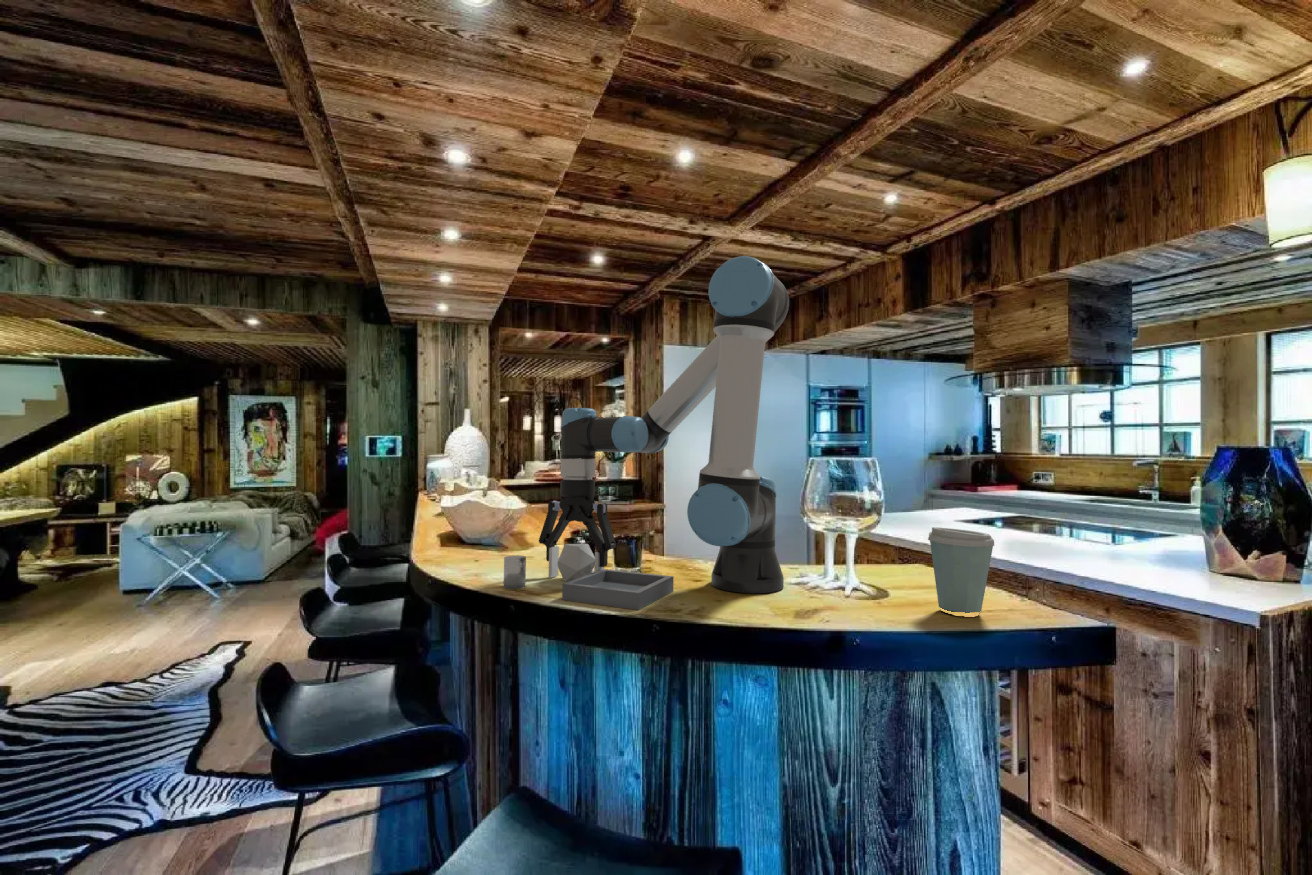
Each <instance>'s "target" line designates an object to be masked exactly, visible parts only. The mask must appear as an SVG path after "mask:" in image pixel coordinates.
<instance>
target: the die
mask: <svg viewBox="0 0 1312 875" xmlns="http://www.w3.org/2000/svg"><path fill="white" fill-rule="evenodd" d="M557 566H558V571H559V572H560V574H561V577H562V579H563V582H564V583H566V582H569V581H572V580H575V579H578V578H580V577H583V576H586V575H589V574H592V573H593V570H594V568H595V554H594V553H593V551H592V549H591V547H590V545H589V544H588V543H567V544H566V543H565V544H564V545H563V548H562V550H561V552H560V554H559V559H558V563H557Z"/></svg>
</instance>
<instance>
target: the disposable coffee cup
mask: <svg viewBox="0 0 1312 875" xmlns="http://www.w3.org/2000/svg"><path fill="white" fill-rule="evenodd" d="M927 540H928V541H929V543H930V545H929V546H930V550H931V551H930V552H931V559H932V566H933V573H934V581H935V589H936V595H937V604H938V608H939V609H940V608H942V609H944V610H947V611H951V612H965V613H970V612H980V611H981V612H982V608H983V604H984V603H983V602H984V599H985V593H986V592H985V591H986V586H987V582H988V575H989V570H990V566H991V559H992V553H993V549H994V548H993V547H994V546H995V540H994V538H993V537H992V536H991V535H990V534H989V533H985V532H979V531H975V530H974V531H973V530H968V529H959V528H950V527H934V526H933V527H931V531H930V532H929V533H928V538H927ZM981 612H980V613H981Z"/></svg>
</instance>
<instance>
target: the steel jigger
mask: <svg viewBox="0 0 1312 875" xmlns="http://www.w3.org/2000/svg"><path fill="white" fill-rule="evenodd" d="M526 573H527V556H525V555H507V556H504V557H503V588H504V589H507V590H517V589H519V590H520V589H524V588H526V583H527V582H526V576H527V574H526Z"/></svg>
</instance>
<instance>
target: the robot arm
mask: <svg viewBox="0 0 1312 875" xmlns="http://www.w3.org/2000/svg"><path fill="white" fill-rule="evenodd" d="M788 293H789V292H788V291H787V289H786V287H785V285H784V284H783V283H782V281H781V280H780V279H779V278H777V276H776V275H775V274H774V272H772V270H771V269H770V267H769V266H768V265H767V264H766V263H764V262H762V261H761V260H759V259H758V258H755V257H752V256H746V255H742V256H736V257H732V258H729V259H728V260H726V261H725V262H723V263H722V264H721V265H720V266H719V267H718V268H717V269H716V270H715V271H714V273H713V274H712V276H711V278H710V281H709V283H708V298H709V301H710V305H711V306H712V308H713V309H714V318H713V327H712V328H713V330H712V331H713V333H714V334H715V335H716V336H715V337H714V338H713V339H712V340H711V342H709V344H708V345H706V347H705V348H704V349H703V350H702V351H701V352H700V354H698V355H697V356H696V358H695V359H694V360H693V361H692V362H691V363H690V364H689V365H688V366H687V367H686V368H685V369H684V371H683V372H682V373H681V374H680V375H679V376H678V377H677V378H676V379H675V381H673V383H672V384H671V385H670V386H669V387H668V388H667V389H666V390H665V391H664V392H663V393H662V395H661V396H660V397H658V399H657V400H656V401H655V402H654V403H653V404H652V405H651V406H650V407H649V409H647V410H646V412H645V413H644V414H643V415H641V417H639V416H631V415H623V416H607V417H602V416H601V417H598V416H597V412H596V409H594V408H588V407H569V408H568V407H567V408H565V409H564V410H563V411H562V415H561V416H562V417H561V426H560V430H561V432H560V435H561V439H560V440H561V455H560V456H561V457H560V458H561V459H560V474H559V475H560V477H561V478H563V479H561V480H560V484H559V485H560V493H559V494H560V496H561V497H560V501H558V500H553V501H552V500H550V501H548V503H547V513H546V516H545V520H544V523H543V526H542V529H541V532H540V536H539V538H538V543H539V544H542V545H544V546H545V547H546V550H545V551H546V552H545V553H546V554H545V556H546V558H545V559H546V562H548V578H550V579H552V578H554V577H555V578H556V577H557V576H559V568H558V566H557V563H558V559H559V557H560V546H559V545H558V543H557V542H559V540H560V538H561V537H562V535H563V533H564V531H565V530H566V529H567V526H568V525H569V523H571V522H574V521H575V522H579V523H582V524H583V525H584V526H585V528H586V529H587V531H588V533H589V535H590V537H591V539H592V541H593V542H594V544H595V547H596V548H597V551H594V557H595V565H594V573H595V572H598V571H601V570H603V569H605V567H607V566H608V552H609V551H610V550H614V549H615V548H616V547H617V543H616V540H615V537H614V536H615V535H614V532H613V529H612V525H611V522H610V519H609V516H608V504H607V503H605V502H604V503H596V502H595V494H596V493H595V492H596V481H595V480H594V479H593V478H595V477H596V454H597V452H598V453H600V452H602V453H604V452H605V453H606V452H607V453H624V454H627V453H628V454H629V453H630V454H631V453H643V454H654V453H658V452H661V451H663V449H665V448H666V447H667V445H668V443H669V438H670V437H669V436H670V435H671V434H672V433H673V432H674V431H675V430H676V429H677V428H678V426H679V425H680V424H681V423H682V422H684V420H685V419H686V418H687V417H688V416H689V415H690V414H691V413H692V412H693V411H694V410H695V409H696V408H697V406H699V404H701V403H702V402H703V401H704V400H705V398H706V397H707V396H709V394H711V392H712V391H713V390H714V389H715V391H714V401H713V412H712V421H711V431H710V432H711V434H710V443H709V452H708V453H709V454H708V462H707V464H706V465H704V467H702V468H701V469H700V471H699V474H698V475H699V476H698V482H697V483H698V484H697V489H696V490H695V492H693V494H692V495H691V497H690V499H689V500H688V504H687V509H686V510H687V512H686V514H687V520H688V523H689V526H690V528H691V530H692V531H693V532H694V534H695V535H696V536H697V537H698V538H699V539H700V540H701V541H702V542H704V543H706V544H708V545H710V546H711V545H712V546H714V547H715V546H716V547H719V550H718V553H717V557H716V559H715V562H714V565H713V569H712V572H711V585H712V587H714V588H716V589H719V590H723V591H726V592H727V591H728V592H732V593H743V594H766V593H767V594H768V593H775V592H778V591H781V590H782V589H784V587H785V586H784V585H785V584H784V579H785V578H784V574H783V571H782V568H781V565H780V562H779V558H778V555H777V551H776V516H777V515H776V513H777V512H776V510H777V509H776V506H777V504H776V498H777V490H776V483H775V481H774V480H773V479H772V478H770V477H765V476H760V475H759V474H758V473H757V471H756V470H755V468H754V463H755V462H754V460H755V452H756V443H757V430H758V422H759V421H758V419H759V410H760V402H761V401H760V400H761V391H762V390H761V388H762V380H763V370H764V369H763V368H764V361H765V360H764V358H765V349H766V343H767V342H768V341H769V340H770V339H771V338H772V337H774V336H775V333H776V331H777V330H778V329H779V328H780V327H781V325H782V324H783V323H784V321H785V319H786V317H787V314H788V312H789V307H790V298H789V297H790V296H789V294H788ZM560 510H561V511H562V513H561V515H560V516H559V518H558V515H559V511H560ZM593 513H595V514H596V517H597V519H596V518H595V516H594V514H593ZM557 519H558V521H557ZM556 521H557V523H556ZM596 521H598V524H599V526H598V524H597V523H596ZM555 524H556V525H555Z"/></svg>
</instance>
